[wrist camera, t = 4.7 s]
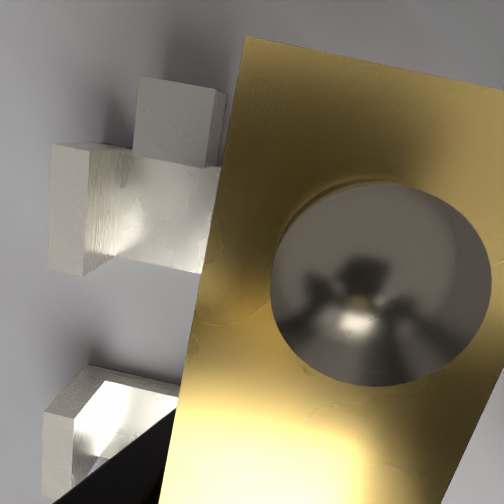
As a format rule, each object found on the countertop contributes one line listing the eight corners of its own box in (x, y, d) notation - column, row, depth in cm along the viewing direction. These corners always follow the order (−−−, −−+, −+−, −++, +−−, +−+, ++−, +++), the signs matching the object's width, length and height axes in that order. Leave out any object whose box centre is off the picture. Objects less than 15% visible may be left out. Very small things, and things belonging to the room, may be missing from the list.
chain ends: (283, 105, 17) (278, 96, 13) (207, 508, 24) (190, 579, 20) (106, 74, 18) (53, 56, 14) (80, 477, 24) (39, 540, 21)
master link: (453, 125, 7) (679, 111, 3) (281, 622, 12) (273, 921, 7) (270, 86, 8) (237, 16, 3) (165, 590, 12) (86, 865, 7)
